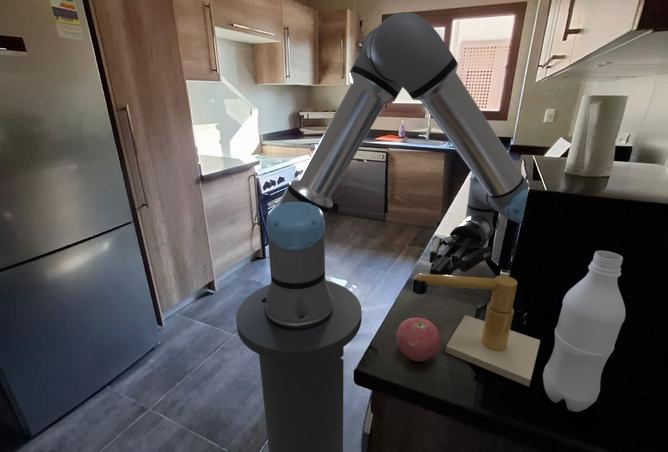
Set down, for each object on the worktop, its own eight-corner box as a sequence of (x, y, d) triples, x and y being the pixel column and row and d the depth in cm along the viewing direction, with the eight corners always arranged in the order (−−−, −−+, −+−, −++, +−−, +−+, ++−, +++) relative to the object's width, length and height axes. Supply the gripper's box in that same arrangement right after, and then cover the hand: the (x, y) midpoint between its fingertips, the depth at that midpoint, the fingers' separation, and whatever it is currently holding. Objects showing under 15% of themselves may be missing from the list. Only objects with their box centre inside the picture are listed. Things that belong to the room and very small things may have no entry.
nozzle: (508, 302, 63) (513, 275, 61) (514, 313, 59) (520, 285, 57) (410, 294, 65) (412, 269, 63) (411, 305, 62) (414, 278, 60)
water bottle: (537, 374, 59) (572, 241, 50) (588, 388, 56) (634, 249, 47) (541, 406, 53) (581, 261, 44) (597, 424, 50) (652, 272, 41)
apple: (446, 361, 62) (451, 324, 59) (414, 376, 58) (418, 338, 56) (418, 337, 68) (421, 303, 65) (388, 350, 65) (390, 314, 62)
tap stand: (445, 352, 64) (450, 310, 61) (464, 320, 73) (470, 283, 70) (529, 387, 56) (540, 341, 53) (538, 346, 65) (549, 305, 62)
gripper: (497, 257, 78) (468, 305, 60) (440, 244, 86) (399, 283, 68) (502, 227, 76) (474, 267, 58) (443, 216, 83) (402, 249, 65)
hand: (434, 276), depth 63 cm, fingers closed
